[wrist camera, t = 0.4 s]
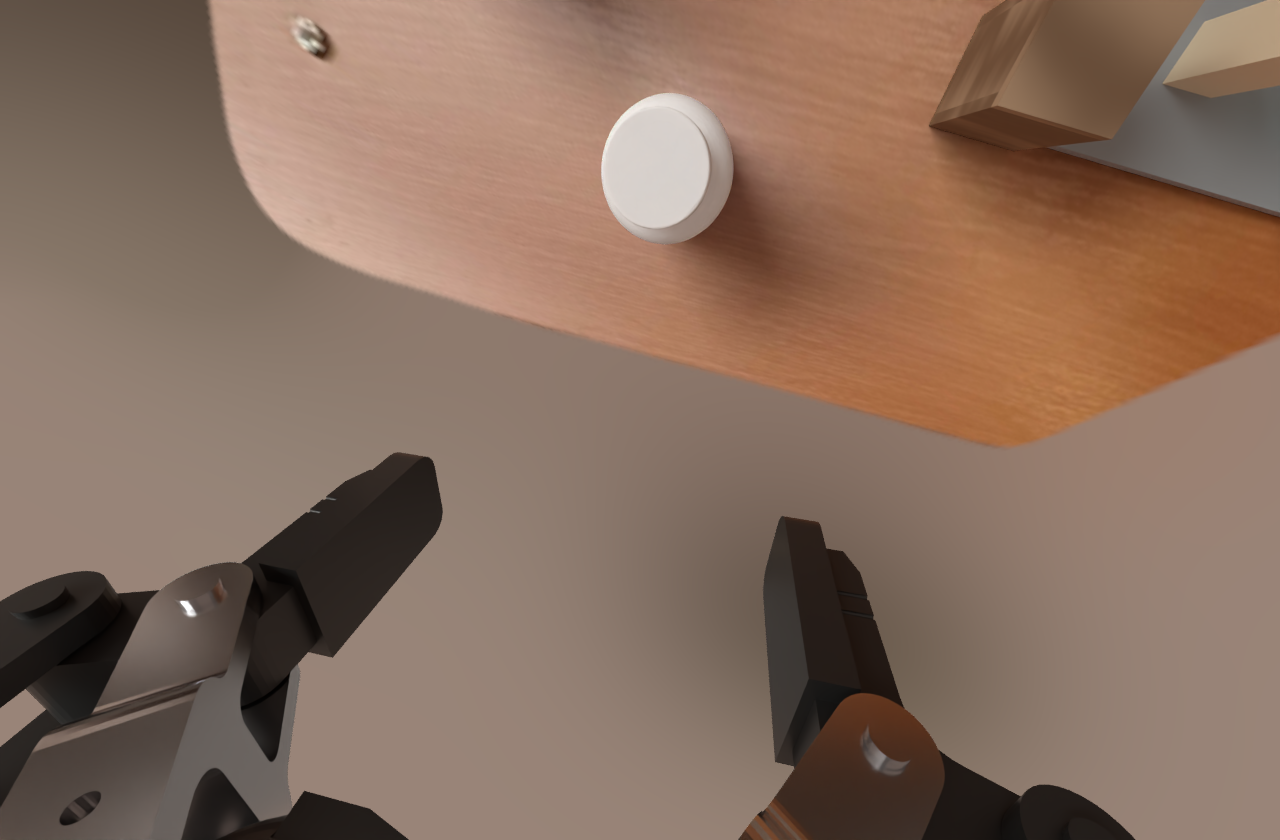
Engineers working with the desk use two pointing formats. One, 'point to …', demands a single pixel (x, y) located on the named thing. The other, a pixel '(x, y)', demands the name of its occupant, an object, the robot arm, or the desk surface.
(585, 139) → the desk surface
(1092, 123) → the tall brown pillar
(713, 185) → the supplement bottle
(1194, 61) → the stand
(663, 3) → the desk surface
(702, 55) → the desk surface
